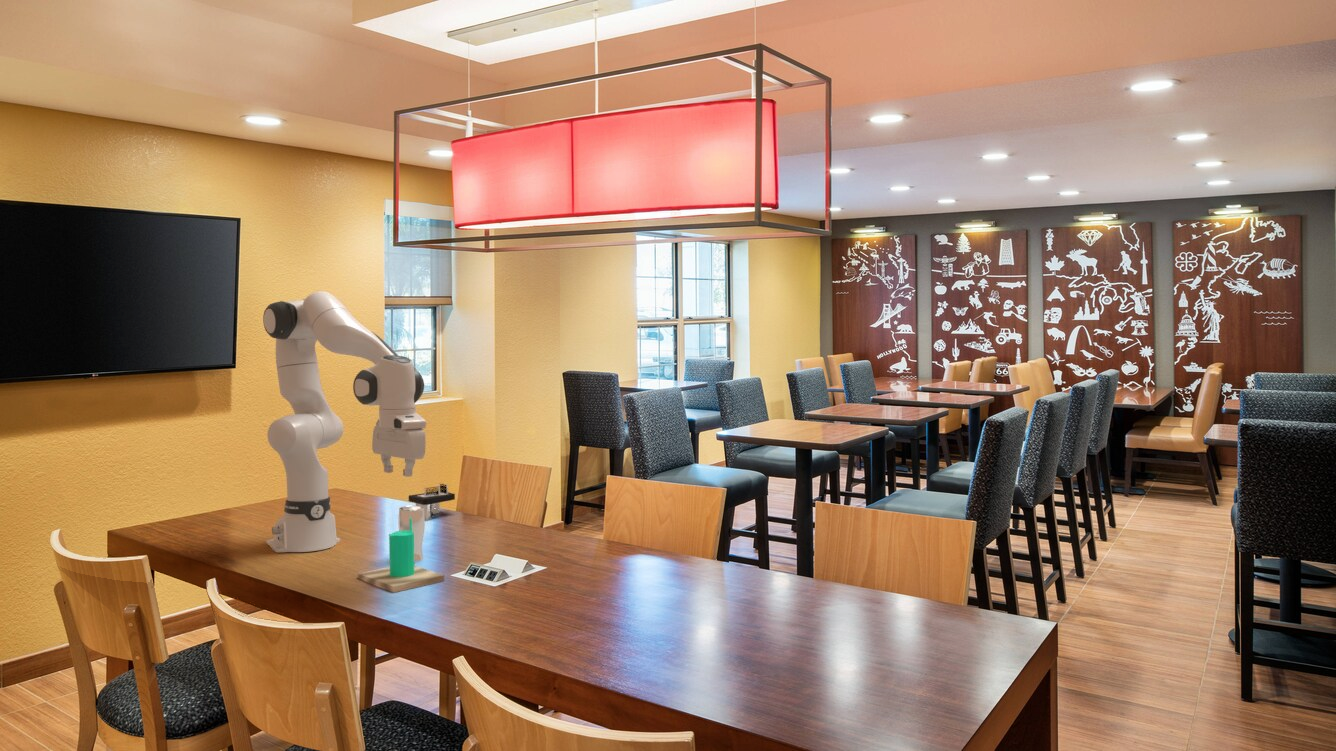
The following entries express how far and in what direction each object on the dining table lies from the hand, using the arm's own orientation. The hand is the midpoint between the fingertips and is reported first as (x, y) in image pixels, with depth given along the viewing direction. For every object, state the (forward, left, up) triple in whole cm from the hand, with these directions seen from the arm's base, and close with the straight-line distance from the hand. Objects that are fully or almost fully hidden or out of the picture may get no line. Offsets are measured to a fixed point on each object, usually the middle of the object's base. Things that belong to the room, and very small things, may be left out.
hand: (397, 474), depth 221 cm
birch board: (0, 0, -27) cm, 27 cm away
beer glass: (-15, +12, -27) cm, 33 cm away
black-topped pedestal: (-55, +44, -28) cm, 76 cm away
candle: (0, +1, -26) cm, 26 cm away
